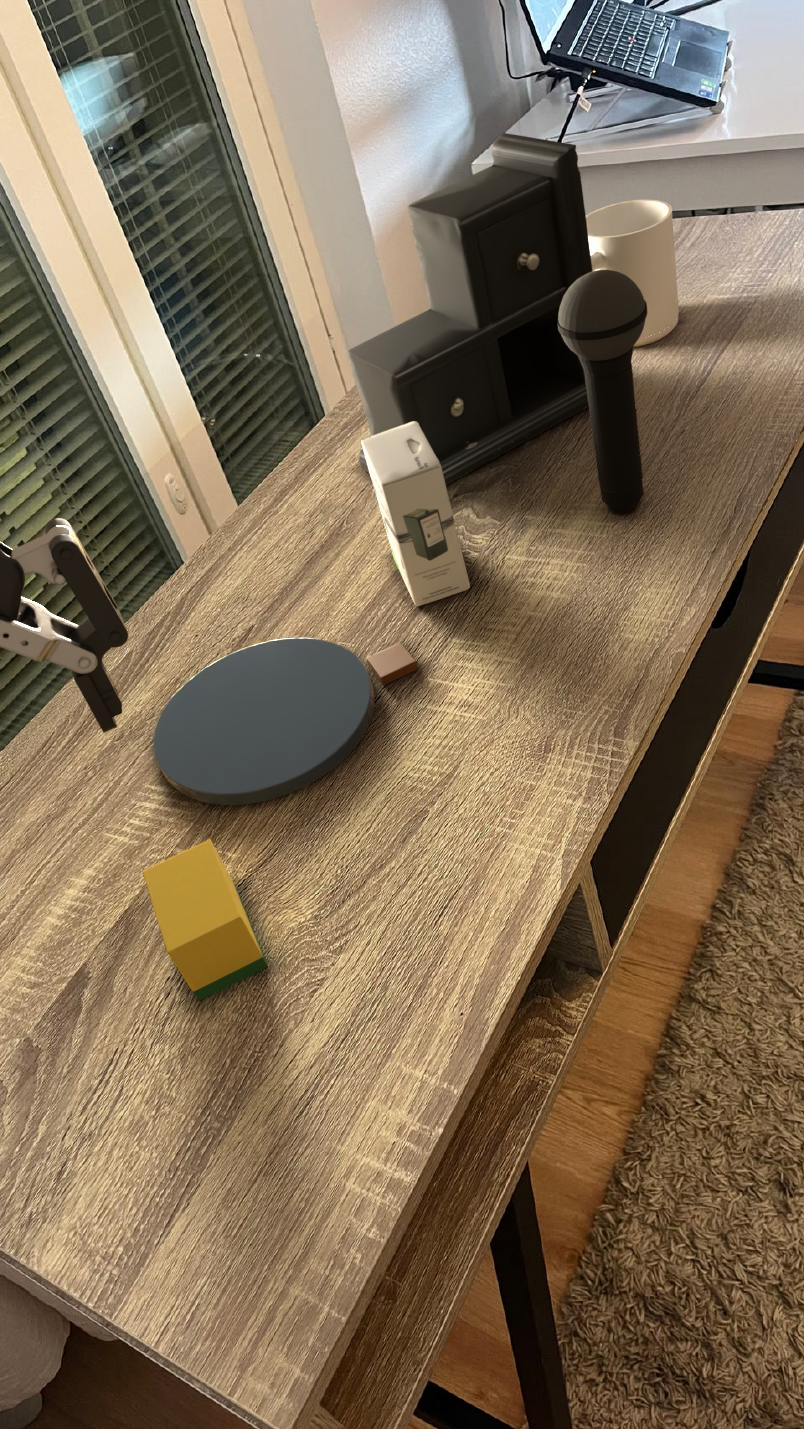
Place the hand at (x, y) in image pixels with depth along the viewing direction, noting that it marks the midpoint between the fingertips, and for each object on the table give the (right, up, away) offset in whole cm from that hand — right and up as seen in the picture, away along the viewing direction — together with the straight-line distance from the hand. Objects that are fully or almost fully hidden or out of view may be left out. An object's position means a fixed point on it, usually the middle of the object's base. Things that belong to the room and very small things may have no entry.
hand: (26, 757), depth 53 cm
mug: (+43, +42, +62) cm, 86 cm away
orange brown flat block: (+18, +6, +30) cm, 35 cm away
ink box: (+21, +14, +38) cm, 45 cm away
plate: (+8, +2, +28) cm, 30 cm away
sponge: (+7, -12, +14) cm, 19 cm away
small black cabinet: (+27, +30, +53) cm, 67 cm away
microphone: (+37, +19, +38) cm, 57 cm away
